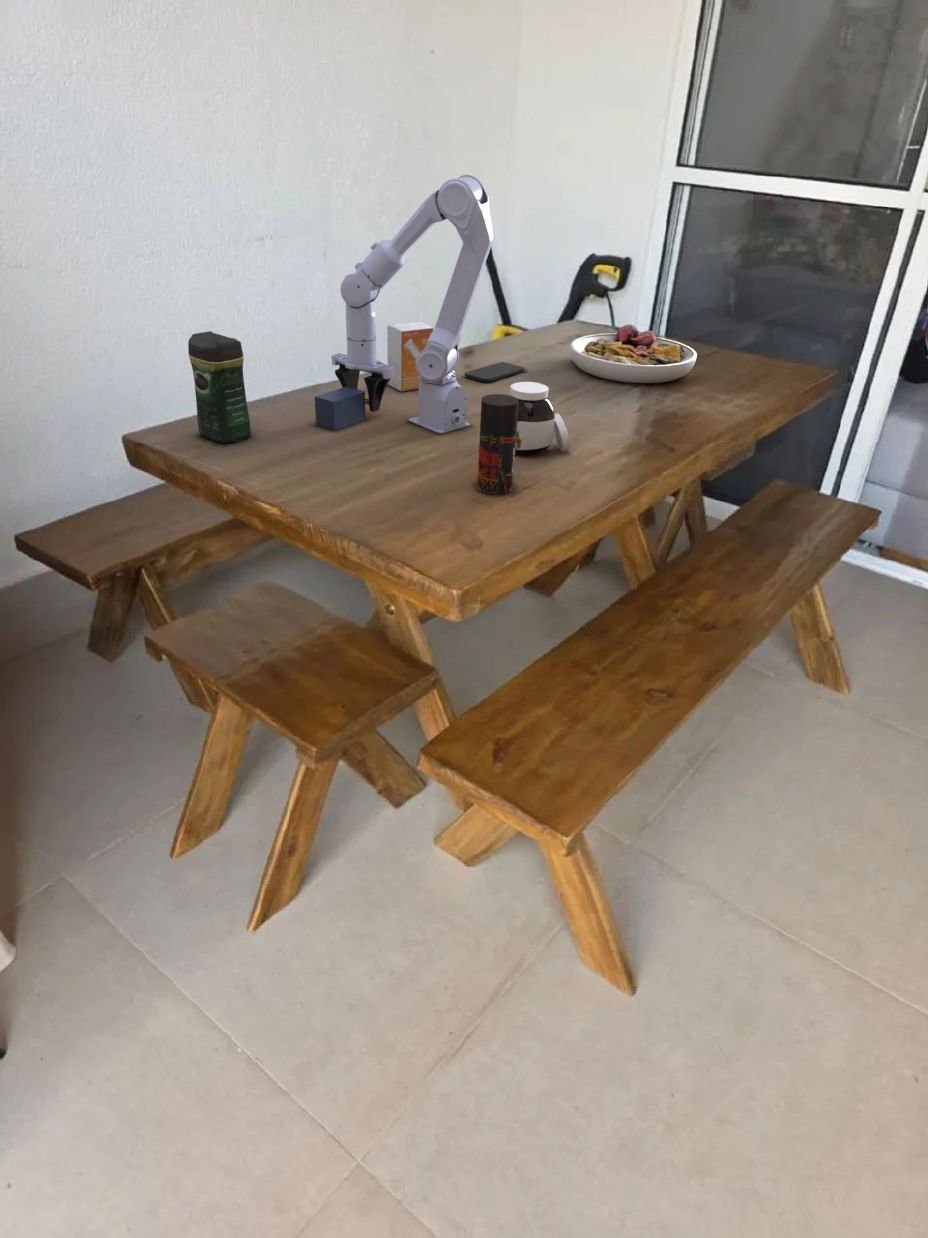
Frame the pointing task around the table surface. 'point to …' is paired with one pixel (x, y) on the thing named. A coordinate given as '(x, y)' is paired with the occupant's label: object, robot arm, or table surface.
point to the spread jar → (537, 420)
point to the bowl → (632, 356)
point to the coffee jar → (219, 387)
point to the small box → (406, 352)
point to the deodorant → (497, 443)
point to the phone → (494, 372)
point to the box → (340, 408)
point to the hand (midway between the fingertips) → (363, 407)
